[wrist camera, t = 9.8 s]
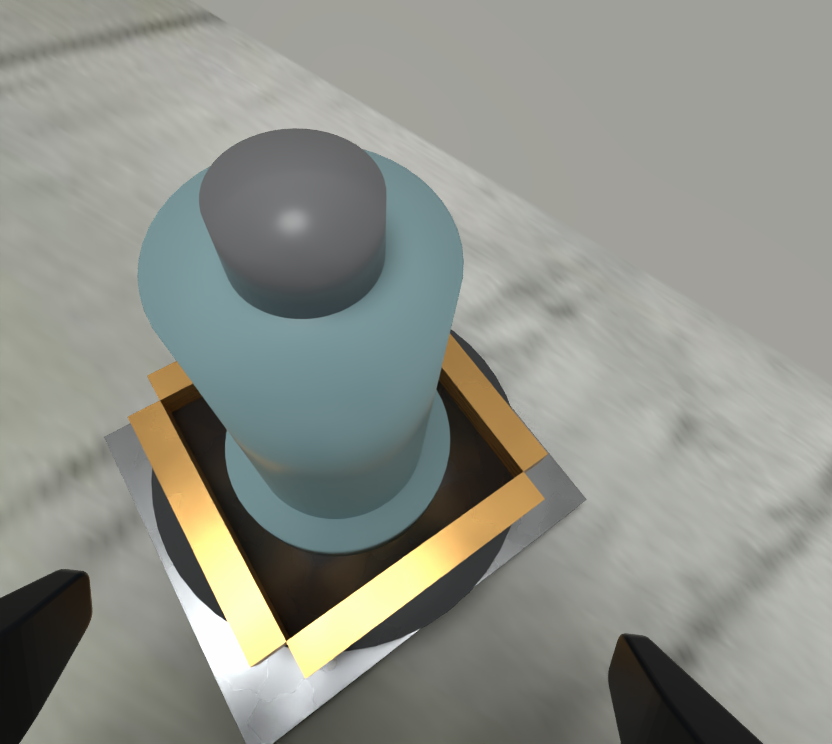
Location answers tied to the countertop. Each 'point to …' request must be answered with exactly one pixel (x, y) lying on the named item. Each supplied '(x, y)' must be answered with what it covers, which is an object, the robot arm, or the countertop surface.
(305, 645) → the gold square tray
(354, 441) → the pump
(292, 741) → the countertop surface
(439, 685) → the countertop surface
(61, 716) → the countertop surface
